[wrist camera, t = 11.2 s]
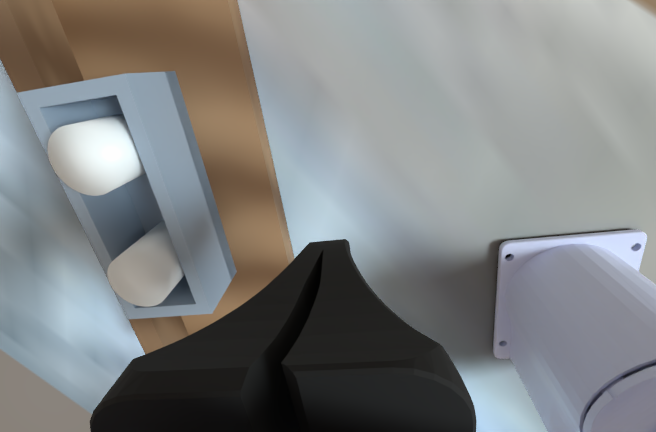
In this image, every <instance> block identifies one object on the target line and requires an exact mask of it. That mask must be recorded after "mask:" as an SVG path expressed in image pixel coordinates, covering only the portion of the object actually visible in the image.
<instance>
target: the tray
mask: <svg viewBox="0 0 656 432" xmlns="http://www.w3.org/2000/svg"><path fill="white" fill-rule="evenodd" d="M17 95H18V97H19V99H20V101H21V103H22V105H23V108H24V110H25V112H26V114H27V116H28V118H29V120H30V122H31V124H32V126H33V128H34V130H35V132H36V134H37V136H38V138H39V140H40V142H41V144H42V146H43V148H44V150H45V152H46V154H47V156H48V158H49V161H50V163H51V166H52V168H53V169H54V171H55V172H56V175H57V177H58V179H59V181H60V183H61V185H62V187H63V189H64V191H65V193H66V195H67V197H68V199H69V201H70V203H71V205H72V207H73V209H74V211H75V213H76V215H77V217H78V219H79V221H80V223H81V225H82V227H83V229H84V231H85V233H86V235H87V237H88V239H89V241H90V244H91V246H92V248H93V250H94V252H95V254H96V256H97V258H98V260H99V262H100V264H101V266H102V268H103V270H104V272H105V274H106V276H107V278H108V280H109V283H110V285H111V287H112V288H113V290H114V292H115V294H116V296H117V298H118V300H119V302H120V304H121V306H122V308H123V311H124V313H125V315H126V317H127V319H141V318H156V317H170V316H185V315H200V314H212V313H213V311H214V310H215V308H216V306H217V305H218V303H219V301H220V299H221V298H222V296H223V294H224V293H225V291H226V289H227V287H228V286H229V284H230V282H231V281H232V279H233V277H234V275H235V274H236V272H237V271H236V268H235V265H234V261H233V258H232V255H231V252H230V248H229V245H228V242H227V239H226V235H225V232H224V229H223V225H222V222H221V219H220V216H219V212H218V209H217V206H216V203H215V199H214V196H213V193H212V190H211V186H210V183H209V180H208V177H207V173H206V170H205V167H204V163H203V160H202V157H201V154H200V150H199V147H198V144H197V141H196V137H195V134H194V131H193V128H192V124H191V121H190V118H189V115H188V111H187V108H186V105H185V102H184V98H183V95H182V92H181V88H180V85H179V82H178V79H177V75H176V72H175V71H167V72H146V73H125V74H119V75H114V76H108V77H103V78H97V79H91V80H86V81H80V82H74V83H69V84H63V85H57V86H52V87H46V88H41V89H35V90H29V91H24V92H18V93H17Z"/></svg>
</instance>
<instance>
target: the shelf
mask: <svg viewBox="0 0 656 432" xmlns="http://www.w3.org/2000/svg"><path fill="white" fill-rule="evenodd" d="M0 59H1V61H2V63H3V65H4V67H5V69H6V71H7V73H8V75H9V77H10V79H11V81H12V83H13V85H14V88H15V90H16V92H17V93H18V92H24V91H29V90H35V89H41V88H46V87H52V86H57V85H63V84H69V83H74V82H80V81H86V80H91V79H97V78H103V77H108V76H114V75H119V74H125V73H146V72H167V71H175V72H176V75H177V79H178V82H179V85H180V88H181V92H182V95H183V98H184V102H185V105H186V108H187V111H188V115H189V118H190V121H191V124H192V128H193V131H194V134H195V137H196V141H197V144H198V147H199V150H200V154H201V157H202V160H203V163H204V167H205V170H206V173H207V177H208V180H209V183H210V186H211V190H212V193H213V196H214V199H215V203H216V206H217V209H218V212H219V216H220V219H221V222H222V225H223V229H224V232H225V235H226V239H227V242H228V245H229V248H230V252H231V255H232V258H233V261H234V265H235V268H236V271H237V272H236V274H235V275H234V277H233V279H232V281H231V282H230V284H229V286H228V287H227V289H226V291H225V293H224V294H223V296H222V298H221V299H220V301H219V303H218V305H217V306H216V308H215V310H214V311H213V313H212V314H200V315H185V316H170V317H156V318H141V319H129V321H130V323H131V325H132V328H133V330H134V332H135V334H136V336H137V338H138V340H139V342H140V344H141V346H142V348H143V350H144V352H145V354H148V353H150V352H153V351H155V350H157V349H160V348H162V347H165V346H167V345H169V344H172V343H174V342H176V341H178V340H181V339H183V338H185V337H187V336H189V335H191V334H193V333H195V332H197V331H199V330H201V329H203V328H204V327H206V326H208V325H210V324H212V323H214V322H215V321H217V320H219V319H220V318H222V317H223V316H225V315H227V314H228V313H230V312H231V311H233V310H235V309H236V308H238V307H239V306H241V305H242V304H244V303H245V302H246V301H248V300H249V299H251V298H252V297H253V296H255V295H256V294H257V293H258V292H260V291H261V290H262V289H263V288H265V287H266V286H267V285H268V284H269V283H270V282H271V281H272V280H273V279H274V278H276V277H277V276H278V275H279V274H280V273H281V272H282V271H283V270H284V269H285V268H286V267H287V266H288V265H289V264H290V263H291V262H292V261H293V260H294V255H293V250H292V246H291V241H290V237H289V232H288V228H287V223H286V218H285V214H284V209H283V205H282V200H281V196H280V191H279V187H278V182H277V178H276V173H275V169H274V164H273V160H272V155H271V151H270V146H269V142H268V137H267V133H266V128H265V124H264V119H263V115H262V110H261V106H260V101H259V96H258V92H257V87H256V83H255V78H254V74H253V69H252V65H251V60H250V56H249V51H248V47H247V42H246V38H245V33H244V29H243V24H242V20H241V15H240V11H239V6H238V2H237V0H0Z"/></svg>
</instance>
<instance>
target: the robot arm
mask: <svg viewBox="0 0 656 432" xmlns="http://www.w3.org/2000/svg"><path fill="white" fill-rule="evenodd" d="M646 241H647V235H646V233H644V232H642V231H641V230H637V229H634V230H623V231H611V232H600V233H588V234H577V235H566V236H554V237H543V238H531V239H520V240H508V241H505V242H503V243H502V244H501V245H500V247H499V259H498V275H497V292H496V308H495V325H494V341H493V353H494V355H495V357H496V358H498V359H511V361H512V363H513V364H514V366H515V368H516V370H517V372H518V374H519V376H520V378H521V380H522V382H523V384H524V386H525V388H526V390H527V392H528V394H529V396H530V398H531V400H532V402H533V404H534V406H535V408H536V410H537V411H538V413H539V415H540V417H541V419H542V421H543V423H544V425H545V427H546V429H547V431H548V432H656V284H654V283H653V282H652V281H650V280H649V279H648V278H646V277H645V276H644V275H642V274H641V273H640V272H639V268H640V264H641V260H642V256H643V252H644V248H645V244H646ZM634 244H636V245H635V246H634V247H632V245H634ZM631 247H632V248H631ZM507 254H511V256H510V257H508V258H505V256H506V255H507ZM501 341H503V342H501ZM90 428H91V432H476V415H475V409H474V405H473V402H472V400H471V397H470V395H469V393H468V391H467V388H466V386H465V384H464V382H463V380H462V378H461V376H460V374H459V373H458V371H457V369H456V367H455V366H454V364H453V362H452V361H451V359H450V358H449V356H448V354H447V353H446V351H445V350H444V348H443V347H442V346H441V345H440V344H438V343H437V342H435V341H433V340H432V339H430V338H428V337H427V336H425V335H423V334H421V333H420V332H418V331H416V330H415V329H413V328H412V327H410V326H409V325H408V324H406V323H405V322H404V321H403V320H402V319H400V318H399V317H398V316H397V315H396V314H395V313H394V312H392V311H391V310H390V309H389V308H388V307H387V306H386V305H385V304H384V303H383V302H382V301H381V300H380V299H379V298H378V297H377V295H376V294H375V293H374V292H373V291H372V289H371V288H370V287H369V285H368V284H367V283H366V281H365V280H364V278H363V277H362V275H361V274H360V272H359V270H358V268H357V266H356V265H355V263H354V261H353V258H352V256H351V253H350V246H349V242H348V241H347V240H346V239H343V240H332V241H321V242H311V243H309V244H308V245H307V246H306V247H305V248H304V249H303V250H302V251H301V253H300V254H299V255H298V256H297V257H296V258H295V259H294V260H293V261H292V262H291V263H290V264H289V265H288V266H287V267H286V268H285V269H284V270H283V271H282V272H281V273H280V274H279V275H278V276H277V277H276V278H274V279H273V280H272V281H271V282H270V283H269V284H268V285H267V286H266V287H265V288H263V289H262V290H261V291H260V292H258V293H257V294H256V295H255V296H253V297H252V298H251V299H249V300H248V301H246V302H245V303H244V304H242V305H241V306H239V307H238V308H236V309H235V310H233V311H231V312H230V313H228V314H227V315H225V316H223V317H222V318H220V319H219V320H217V321H215V322H214V323H212V324H210V325H208V326H206V327H204V328H203V329H201V330H199V331H197V332H195V333H193V334H191V335H189V336H187V337H185V338H183V339H181V340H178V341H176V342H174V343H172V344H169V345H167V346H165V347H162V348H160V349H157V350H155V351H153V352H150V353H148V354H145V355H143V356H140V357H138V358H135V359H133V360H132V361H131V362H130V364H129V365H128V366H127V368H126V369H125V370H124V372H123V373H122V374H121V376H120V377H119V378H118V380H117V381H116V382H115V384H114V385H113V386H112V387H111V389H110V390H109V391H108V393H107V394H106V395H105V397H104V398H103V399H102V401H101V402H100V403H99V405H98V406H97V407H96V409H95V410H94V411H93V414H92V417H91V420H90Z"/></svg>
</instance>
